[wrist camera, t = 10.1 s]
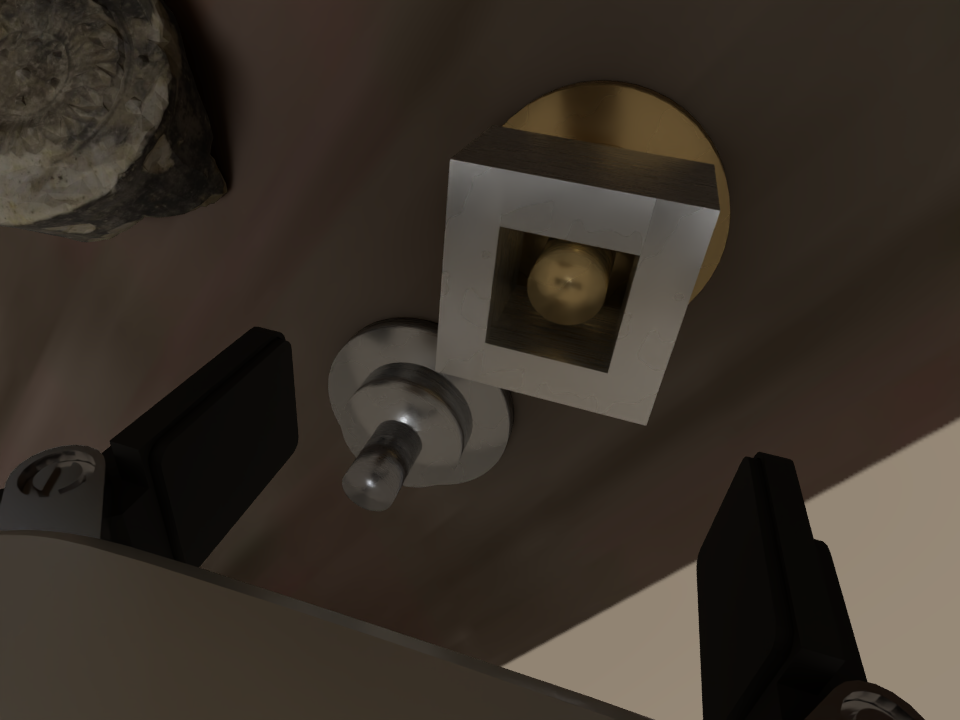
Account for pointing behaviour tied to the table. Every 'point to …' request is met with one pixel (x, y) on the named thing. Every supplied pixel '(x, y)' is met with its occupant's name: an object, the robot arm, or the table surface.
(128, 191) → the fossil
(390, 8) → the table surface
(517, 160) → the square sleeve
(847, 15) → the table surface
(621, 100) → the hub
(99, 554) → the robot arm
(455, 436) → the stand
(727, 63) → the table surface
